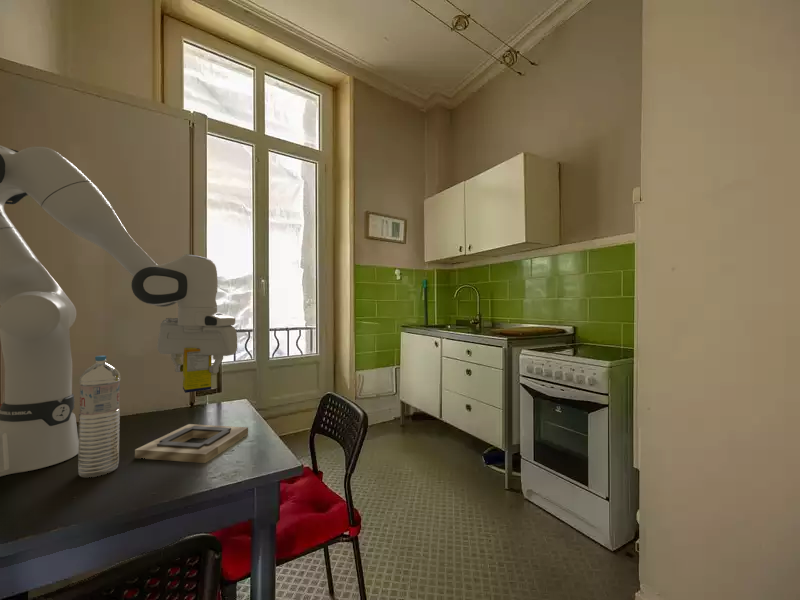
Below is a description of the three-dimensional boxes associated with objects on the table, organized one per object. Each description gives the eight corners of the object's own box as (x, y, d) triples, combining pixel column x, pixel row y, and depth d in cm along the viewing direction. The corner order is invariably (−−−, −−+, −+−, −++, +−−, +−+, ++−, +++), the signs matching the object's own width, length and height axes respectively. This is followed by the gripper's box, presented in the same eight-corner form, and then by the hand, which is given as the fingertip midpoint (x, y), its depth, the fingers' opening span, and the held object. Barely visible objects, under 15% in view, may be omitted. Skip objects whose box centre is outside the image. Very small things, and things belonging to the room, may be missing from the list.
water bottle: (87, 466, 80) (89, 354, 80) (124, 462, 82) (125, 353, 82) (70, 481, 74) (73, 359, 74) (111, 476, 76) (113, 357, 76)
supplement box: (207, 385, 97) (208, 344, 97) (211, 390, 92) (212, 347, 92) (182, 388, 93) (182, 346, 93) (184, 393, 88) (185, 348, 88)
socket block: (134, 458, 85) (135, 447, 85) (188, 431, 102) (189, 422, 102) (205, 463, 82) (205, 452, 82) (248, 434, 100) (248, 425, 100)
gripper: (151, 318, 91) (150, 372, 91) (226, 319, 88) (225, 375, 88) (170, 317, 97) (169, 368, 97) (241, 318, 94) (240, 371, 94)
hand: (196, 372), depth 92 cm, fingers closed on supplement box, 8 cm apart
